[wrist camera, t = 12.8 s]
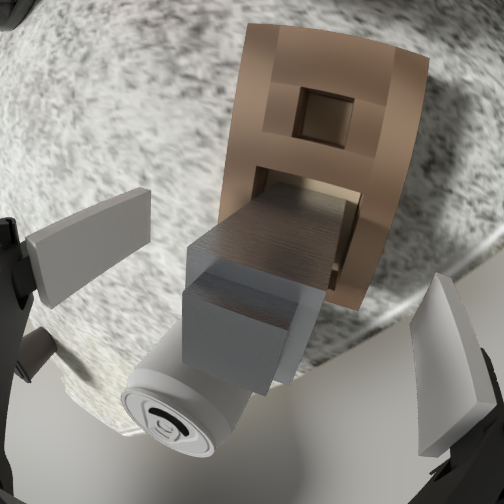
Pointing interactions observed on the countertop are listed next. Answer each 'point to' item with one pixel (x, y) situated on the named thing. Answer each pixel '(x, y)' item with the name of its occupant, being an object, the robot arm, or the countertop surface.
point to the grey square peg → (260, 286)
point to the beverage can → (182, 400)
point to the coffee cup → (34, 353)
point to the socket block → (327, 134)
